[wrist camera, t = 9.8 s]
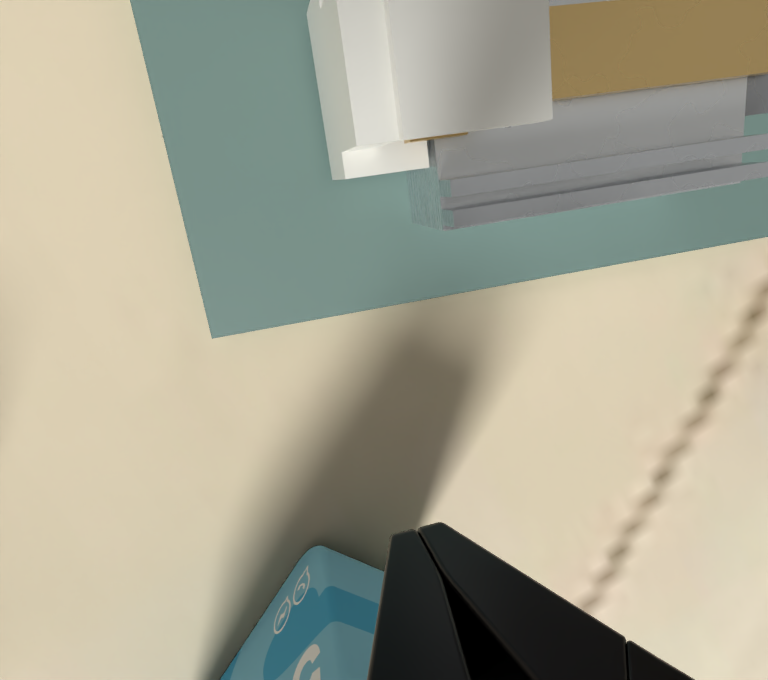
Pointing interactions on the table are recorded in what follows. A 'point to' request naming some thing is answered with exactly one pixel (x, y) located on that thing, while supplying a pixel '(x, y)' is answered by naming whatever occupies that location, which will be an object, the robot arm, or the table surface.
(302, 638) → the data package
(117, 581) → the table surface
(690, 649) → the table surface
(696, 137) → the heatsink
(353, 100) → the clip
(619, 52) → the tan flat bar
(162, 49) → the board
